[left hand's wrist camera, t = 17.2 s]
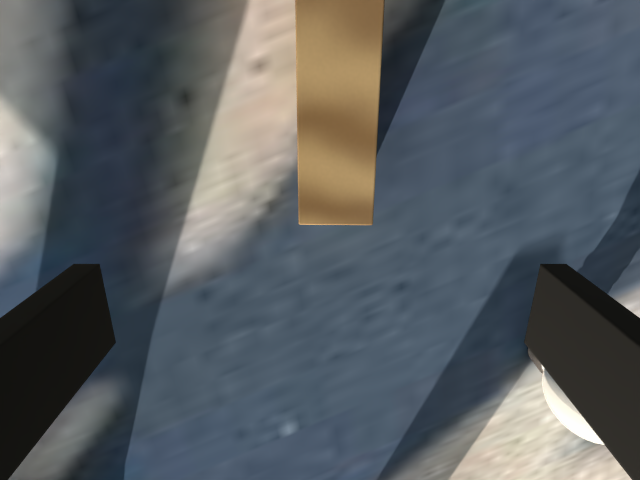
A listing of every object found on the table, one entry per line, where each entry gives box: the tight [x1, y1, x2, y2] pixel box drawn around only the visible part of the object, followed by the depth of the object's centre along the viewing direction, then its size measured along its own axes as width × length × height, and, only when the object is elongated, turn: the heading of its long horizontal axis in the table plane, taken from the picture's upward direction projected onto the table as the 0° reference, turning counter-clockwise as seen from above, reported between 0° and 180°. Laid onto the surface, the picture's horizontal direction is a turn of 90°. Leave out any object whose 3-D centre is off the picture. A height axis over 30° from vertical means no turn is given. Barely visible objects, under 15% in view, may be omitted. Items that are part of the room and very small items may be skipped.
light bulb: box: [528, 348, 604, 445], centre depth 37 cm, size 7×7×11 cm
